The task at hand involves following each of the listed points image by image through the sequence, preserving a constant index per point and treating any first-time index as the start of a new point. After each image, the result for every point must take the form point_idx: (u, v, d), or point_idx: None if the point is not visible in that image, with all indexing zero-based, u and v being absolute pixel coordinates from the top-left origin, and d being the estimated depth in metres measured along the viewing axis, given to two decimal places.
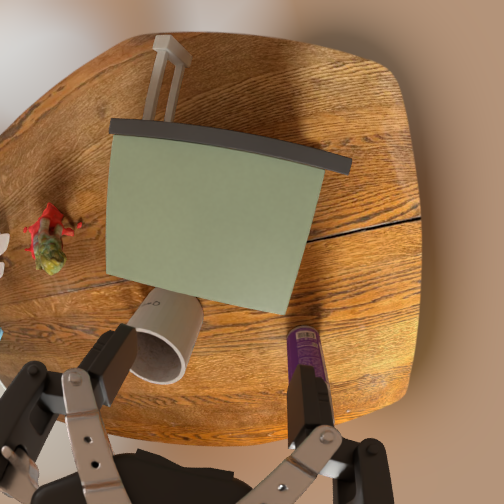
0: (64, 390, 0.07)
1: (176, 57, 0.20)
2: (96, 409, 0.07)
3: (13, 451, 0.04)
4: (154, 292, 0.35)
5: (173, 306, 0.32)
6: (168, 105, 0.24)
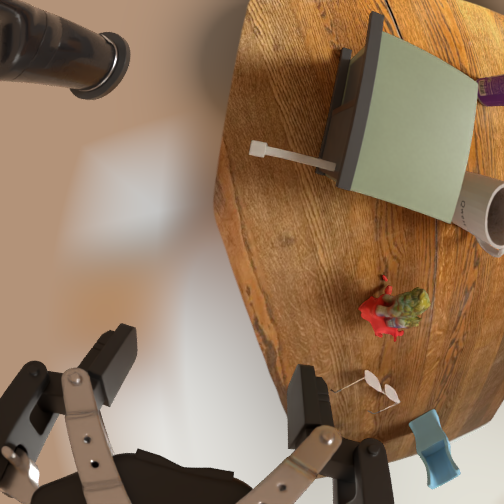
0: (64, 390, 0.07)
1: None
2: (96, 409, 0.07)
3: (13, 451, 0.04)
4: None
5: (465, 189, 0.29)
6: None
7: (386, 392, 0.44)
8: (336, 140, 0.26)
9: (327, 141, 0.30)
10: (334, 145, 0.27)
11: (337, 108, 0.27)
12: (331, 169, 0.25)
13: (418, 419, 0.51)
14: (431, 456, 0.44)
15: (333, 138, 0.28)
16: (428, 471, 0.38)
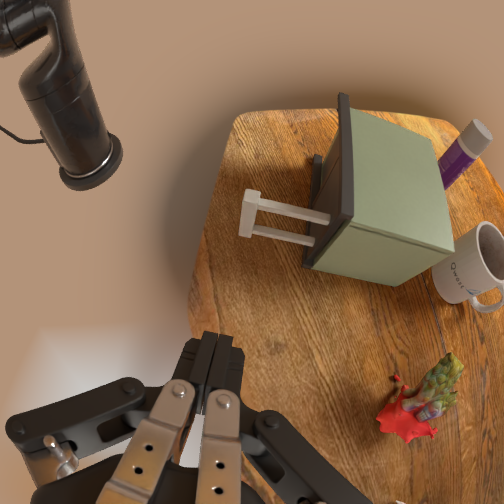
0: (161, 395, 0.09)
1: None
2: (180, 426, 0.08)
3: (58, 443, 0.06)
4: (443, 283, 0.32)
5: None
6: (295, 237, 0.30)
7: None
8: (324, 206, 0.28)
9: (311, 228, 0.33)
10: (323, 213, 0.29)
11: (318, 192, 0.33)
12: (327, 219, 0.25)
13: None
14: None
15: None
16: None
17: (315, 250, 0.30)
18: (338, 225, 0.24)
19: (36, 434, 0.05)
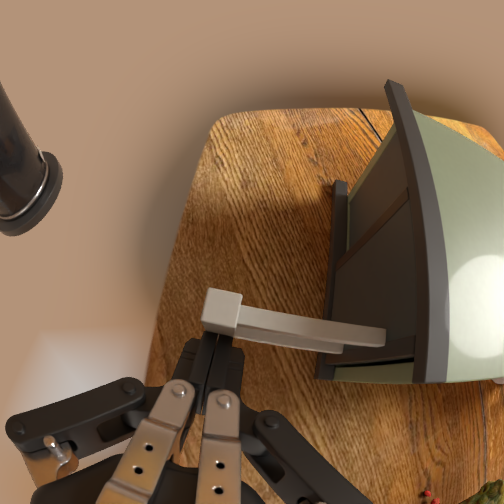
0: (161, 395, 0.09)
1: None
2: (180, 426, 0.08)
3: (58, 443, 0.06)
4: None
5: None
6: (309, 345, 0.16)
7: None
8: (367, 293, 0.15)
9: (336, 311, 0.19)
10: (363, 305, 0.15)
11: (349, 250, 0.19)
12: (379, 342, 0.11)
13: None
14: None
15: (354, 297, 0.16)
16: None
17: (343, 363, 0.16)
18: (402, 358, 0.10)
19: (36, 434, 0.05)
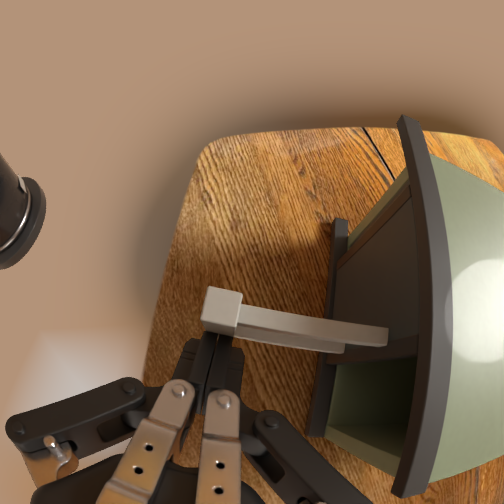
0: (161, 395, 0.09)
1: None
2: (180, 426, 0.08)
3: (58, 443, 0.06)
4: None
5: None
6: (310, 345, 0.16)
7: None
8: (368, 292, 0.14)
9: (337, 311, 0.19)
10: (364, 304, 0.15)
11: (350, 249, 0.19)
12: (381, 341, 0.11)
13: None
14: None
15: (356, 296, 0.16)
16: None
17: (345, 363, 0.15)
18: None
19: (36, 434, 0.05)
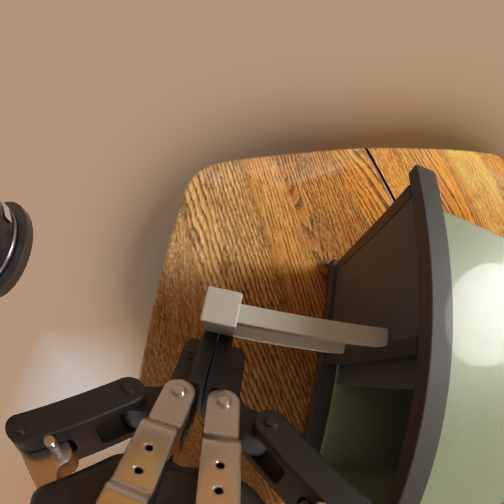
0: (161, 395, 0.09)
1: None
2: (180, 426, 0.08)
3: (58, 443, 0.06)
4: None
5: None
6: (310, 345, 0.16)
7: None
8: (368, 293, 0.14)
9: (337, 311, 0.19)
10: (364, 304, 0.15)
11: (350, 249, 0.19)
12: (381, 342, 0.11)
13: None
14: None
15: (356, 296, 0.16)
16: None
17: (344, 363, 0.16)
18: (404, 358, 0.10)
19: (36, 434, 0.05)
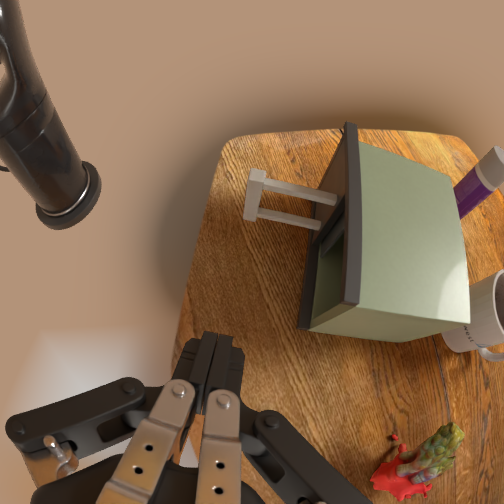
0: (161, 395, 0.09)
1: None
2: (180, 426, 0.08)
3: (58, 443, 0.06)
4: (451, 335, 0.28)
5: None
6: (300, 221, 0.29)
7: None
8: (330, 189, 0.28)
9: (317, 212, 0.32)
10: None
11: (323, 177, 0.32)
12: (333, 199, 0.24)
13: None
14: None
15: None
16: None
17: (321, 233, 0.29)
18: None
19: (36, 434, 0.05)
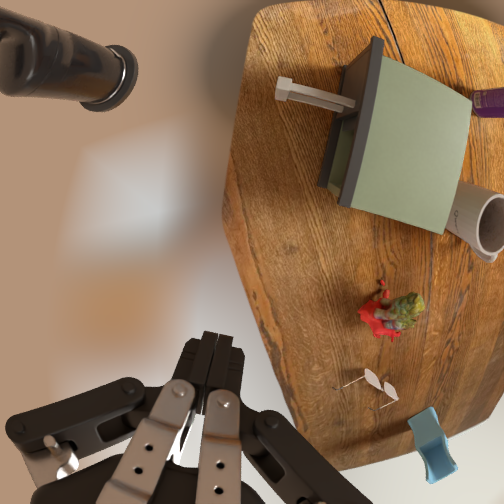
0: (161, 395, 0.09)
1: None
2: (180, 426, 0.08)
3: (58, 443, 0.06)
4: None
5: (459, 199, 0.31)
6: (325, 105, 0.29)
7: (385, 389, 0.47)
8: (353, 84, 0.25)
9: (343, 92, 0.30)
10: (351, 89, 0.26)
11: (351, 62, 0.27)
12: (351, 105, 0.24)
13: (416, 416, 0.54)
14: (429, 452, 0.46)
15: (349, 85, 0.27)
16: (426, 466, 0.40)
17: (342, 117, 0.29)
18: None
19: (36, 434, 0.05)
